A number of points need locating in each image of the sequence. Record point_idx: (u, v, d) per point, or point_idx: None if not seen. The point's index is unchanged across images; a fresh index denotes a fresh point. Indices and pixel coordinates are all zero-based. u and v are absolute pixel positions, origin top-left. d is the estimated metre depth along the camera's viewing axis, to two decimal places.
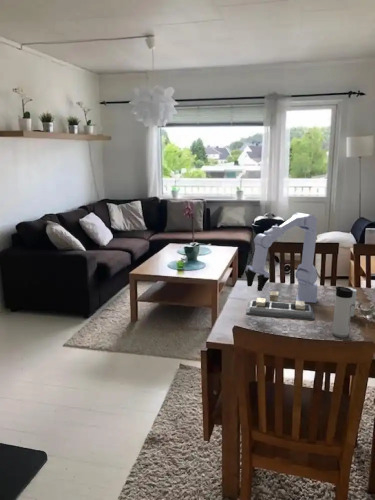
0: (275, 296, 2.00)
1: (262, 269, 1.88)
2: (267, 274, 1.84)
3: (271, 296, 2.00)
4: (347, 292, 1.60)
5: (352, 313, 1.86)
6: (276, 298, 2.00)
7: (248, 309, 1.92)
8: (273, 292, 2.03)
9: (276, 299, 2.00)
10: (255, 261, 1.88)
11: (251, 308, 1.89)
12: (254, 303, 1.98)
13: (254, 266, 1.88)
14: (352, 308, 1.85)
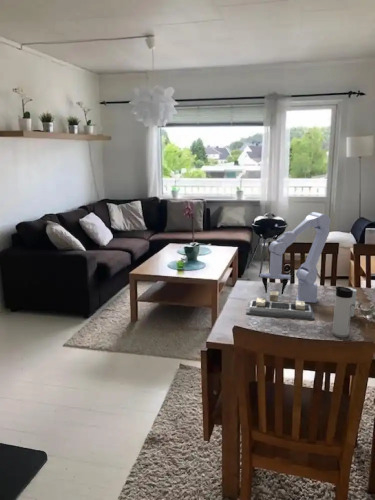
0: (275, 296, 2.00)
1: (281, 274, 2.00)
2: (290, 277, 1.99)
3: (271, 296, 2.00)
4: (347, 292, 1.60)
5: (352, 313, 1.86)
6: (276, 298, 2.00)
7: (248, 309, 1.92)
8: (273, 292, 2.03)
9: (276, 299, 2.00)
10: (276, 269, 1.97)
11: (251, 308, 1.89)
12: (254, 303, 1.98)
13: (276, 273, 1.97)
14: (352, 308, 1.85)
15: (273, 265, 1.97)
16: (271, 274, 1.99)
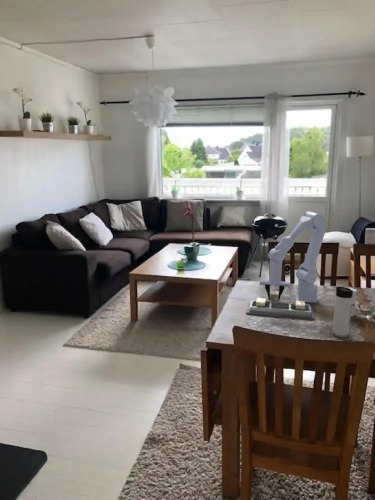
0: (275, 296, 2.00)
1: (280, 281, 2.01)
2: None
3: (271, 296, 2.00)
4: (347, 292, 1.60)
5: (352, 313, 1.86)
6: (276, 298, 2.00)
7: (248, 309, 1.92)
8: (273, 292, 2.03)
9: (276, 299, 2.00)
10: (276, 276, 1.98)
11: (251, 308, 1.89)
12: (254, 303, 1.98)
13: (275, 280, 1.98)
14: (352, 308, 1.85)
15: (273, 272, 1.98)
16: (271, 281, 1.99)
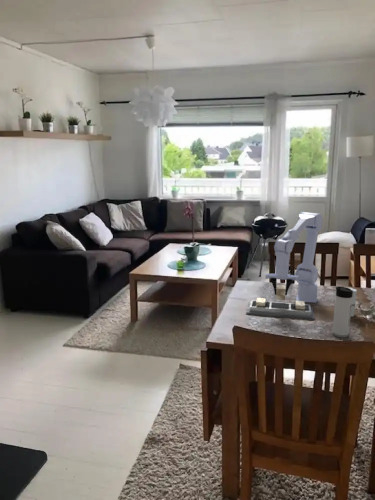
0: (282, 290, 1.86)
1: (288, 274, 1.87)
2: (298, 277, 1.86)
3: (278, 290, 1.87)
4: (347, 292, 1.60)
5: (352, 313, 1.86)
6: (283, 292, 1.86)
7: (248, 309, 1.92)
8: (280, 286, 1.90)
9: (283, 293, 1.87)
10: (283, 269, 1.84)
11: (251, 308, 1.89)
12: (254, 303, 1.98)
13: (282, 273, 1.85)
14: (352, 308, 1.85)
15: (283, 265, 1.84)
16: (277, 274, 1.86)
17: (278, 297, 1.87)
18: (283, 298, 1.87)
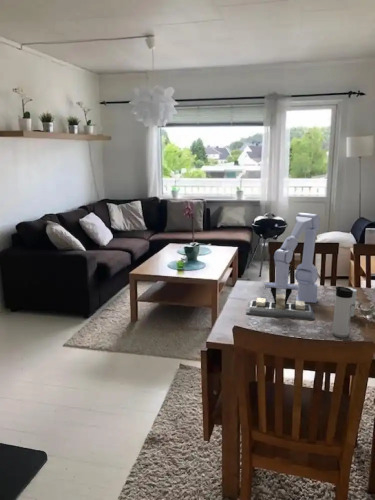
0: (281, 300, 1.87)
1: (287, 283, 1.88)
2: (297, 287, 1.87)
3: (277, 300, 1.88)
4: (347, 292, 1.60)
5: (352, 313, 1.86)
6: (283, 302, 1.87)
7: (248, 309, 1.92)
8: (279, 296, 1.90)
9: (283, 303, 1.87)
10: (283, 278, 1.85)
11: (251, 308, 1.89)
12: (254, 303, 1.98)
13: (282, 283, 1.85)
14: (352, 308, 1.85)
15: (282, 275, 1.85)
16: (277, 284, 1.87)
17: (278, 306, 1.88)
18: (283, 307, 1.88)
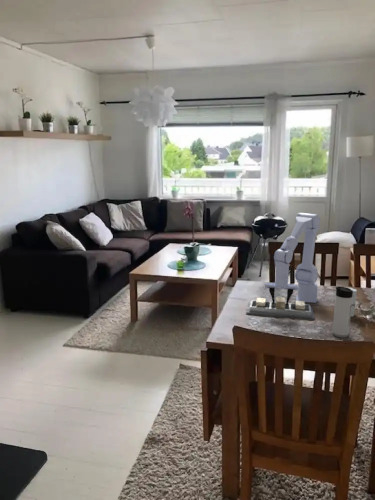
0: (281, 303, 1.87)
1: (287, 283, 1.88)
2: (297, 287, 1.87)
3: (277, 303, 1.88)
4: (347, 292, 1.60)
5: (352, 313, 1.86)
6: (283, 305, 1.88)
7: (248, 309, 1.92)
8: (279, 299, 1.91)
9: (283, 306, 1.88)
10: (283, 278, 1.85)
11: (251, 308, 1.89)
12: (254, 303, 1.98)
13: (282, 283, 1.85)
14: (352, 308, 1.85)
15: (282, 275, 1.85)
16: (277, 284, 1.87)
17: None
18: None
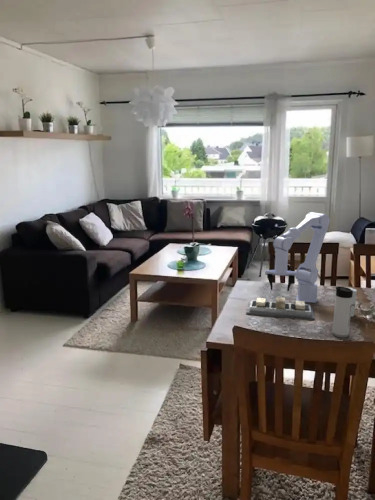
0: (281, 303, 1.87)
1: (286, 270, 1.94)
2: (296, 273, 1.93)
3: (277, 303, 1.88)
4: (347, 292, 1.60)
5: (352, 313, 1.86)
6: (283, 305, 1.88)
7: (248, 309, 1.92)
8: (279, 299, 1.91)
9: (283, 306, 1.88)
10: (282, 265, 1.91)
11: (251, 308, 1.89)
12: (254, 303, 1.98)
13: (281, 270, 1.91)
14: (352, 308, 1.85)
15: (280, 261, 1.91)
16: (277, 270, 1.93)
17: None
18: None
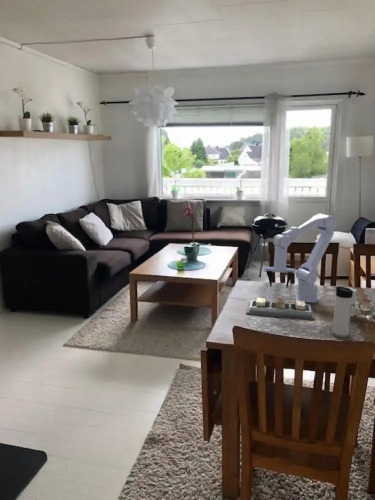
0: (281, 303, 1.87)
1: (285, 267, 1.99)
2: None
3: (277, 303, 1.88)
4: (347, 292, 1.60)
5: (352, 313, 1.86)
6: (283, 305, 1.88)
7: (248, 309, 1.92)
8: (279, 299, 1.91)
9: (283, 306, 1.88)
10: (281, 262, 1.96)
11: (251, 308, 1.89)
12: (254, 303, 1.98)
13: (280, 267, 1.96)
14: (352, 308, 1.85)
15: (278, 258, 1.96)
16: (276, 267, 1.97)
17: None
18: None
